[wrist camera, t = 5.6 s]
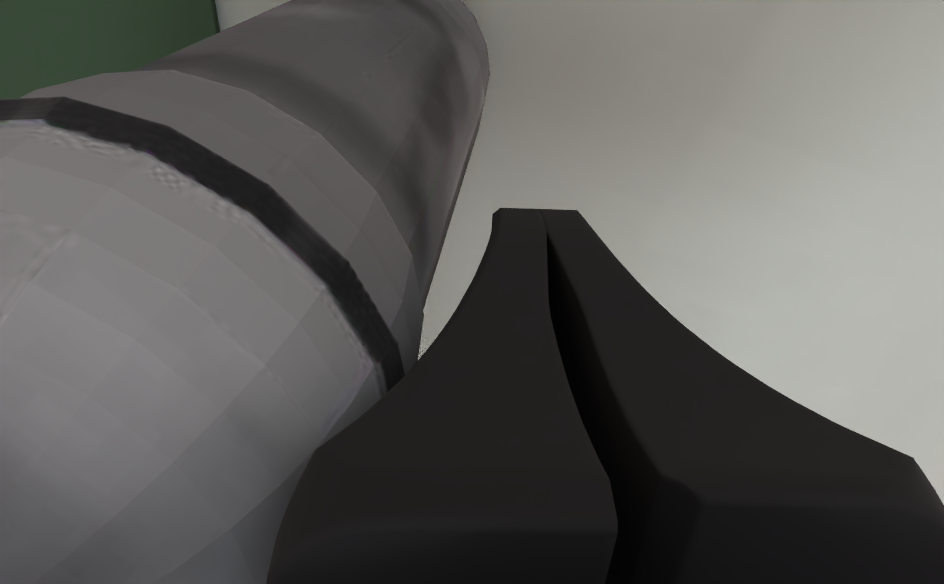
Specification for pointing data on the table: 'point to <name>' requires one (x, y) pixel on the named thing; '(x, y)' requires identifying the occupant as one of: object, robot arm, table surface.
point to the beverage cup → (217, 279)
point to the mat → (92, 38)
